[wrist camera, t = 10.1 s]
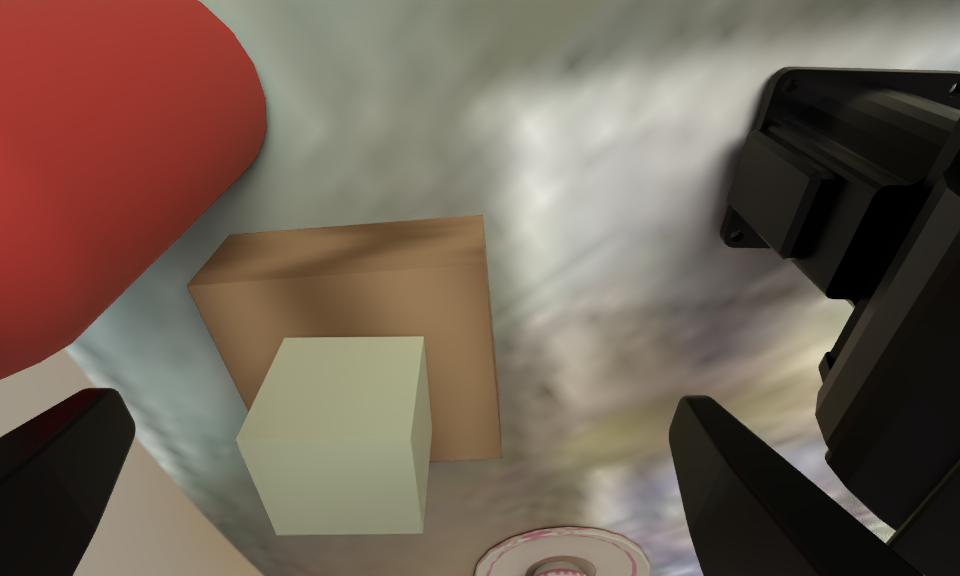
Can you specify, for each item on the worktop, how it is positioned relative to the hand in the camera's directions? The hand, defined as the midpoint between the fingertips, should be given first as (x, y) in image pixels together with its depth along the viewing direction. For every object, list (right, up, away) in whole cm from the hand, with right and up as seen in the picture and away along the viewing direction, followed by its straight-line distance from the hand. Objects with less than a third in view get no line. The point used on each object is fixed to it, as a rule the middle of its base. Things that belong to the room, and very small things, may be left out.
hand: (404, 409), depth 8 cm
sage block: (-3, -2, +11) cm, 12 cm away
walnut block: (-3, +1, +15) cm, 15 cm away
